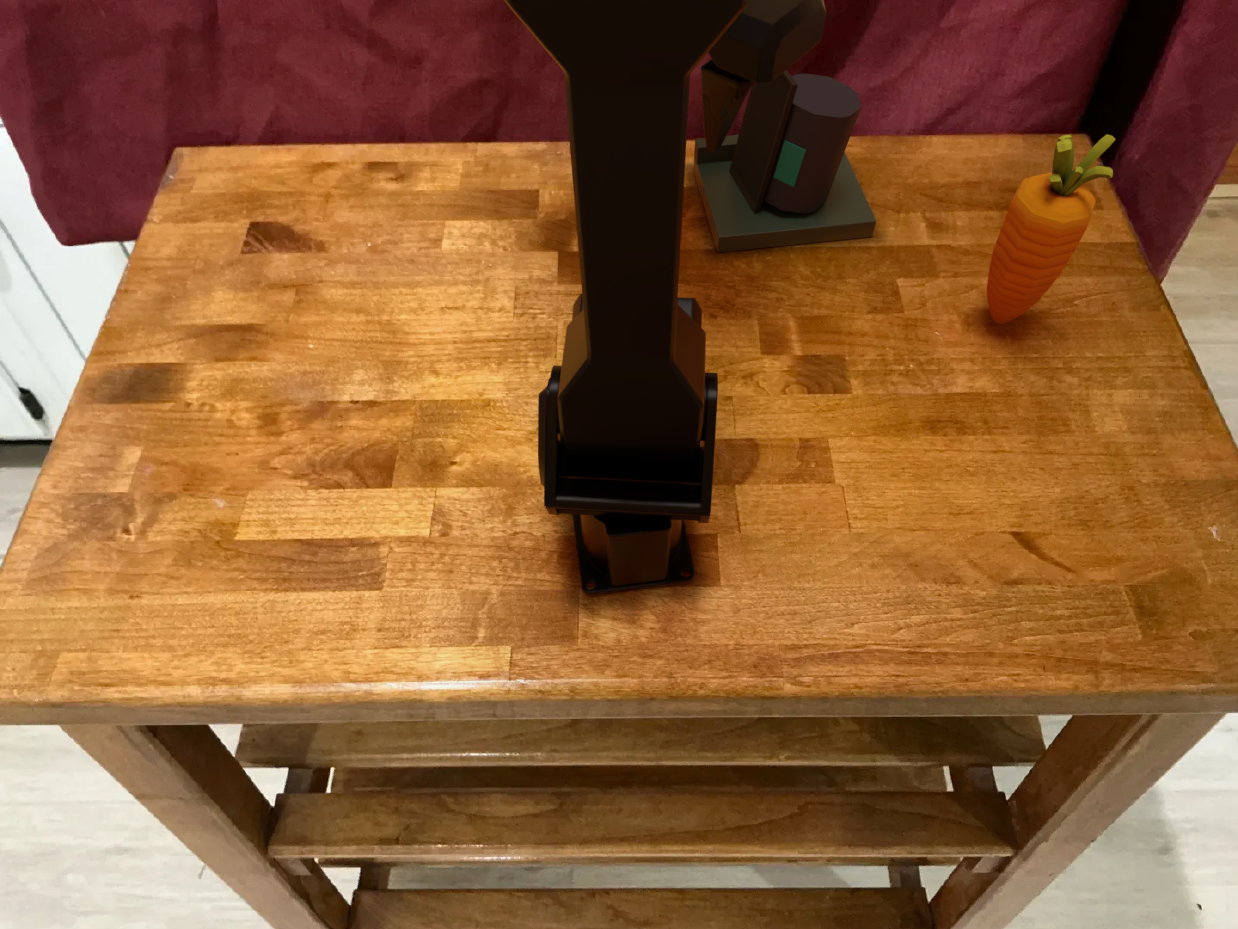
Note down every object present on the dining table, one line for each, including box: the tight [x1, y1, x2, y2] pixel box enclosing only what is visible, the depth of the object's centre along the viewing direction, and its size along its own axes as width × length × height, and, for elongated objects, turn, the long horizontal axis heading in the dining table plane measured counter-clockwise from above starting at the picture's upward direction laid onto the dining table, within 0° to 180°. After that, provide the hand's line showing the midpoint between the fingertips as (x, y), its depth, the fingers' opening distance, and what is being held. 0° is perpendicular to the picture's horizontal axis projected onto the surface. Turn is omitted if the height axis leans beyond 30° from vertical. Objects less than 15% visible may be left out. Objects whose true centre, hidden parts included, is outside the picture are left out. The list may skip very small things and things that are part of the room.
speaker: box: [729, 69, 862, 213], centre depth 66 cm, size 8×6×10 cm
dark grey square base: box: [692, 134, 877, 253], centre depth 70 cm, size 10×12×3 cm
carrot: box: [986, 134, 1116, 325], centre depth 57 cm, size 5×5×15 cm
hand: (655, 122), depth 58 cm, fingers open, 9 cm apart
